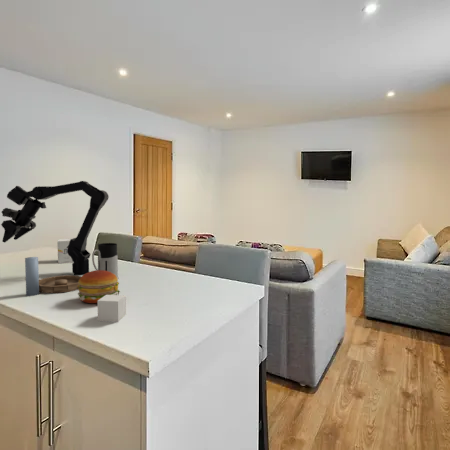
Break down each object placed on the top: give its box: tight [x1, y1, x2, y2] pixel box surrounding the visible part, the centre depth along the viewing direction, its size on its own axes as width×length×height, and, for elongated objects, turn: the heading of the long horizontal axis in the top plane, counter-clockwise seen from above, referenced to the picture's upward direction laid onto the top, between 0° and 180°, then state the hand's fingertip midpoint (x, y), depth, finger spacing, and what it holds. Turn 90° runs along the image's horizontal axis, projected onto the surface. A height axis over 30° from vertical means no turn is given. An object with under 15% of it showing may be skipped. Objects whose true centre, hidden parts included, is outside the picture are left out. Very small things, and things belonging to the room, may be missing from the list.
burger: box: [77, 269, 121, 304], centre depth 117 cm, size 14×14×10 cm
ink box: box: [57, 238, 74, 264], centre depth 183 cm, size 9×8×12 cm
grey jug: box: [91, 242, 120, 280], centre depth 142 cm, size 9×14×15 cm, turn 164°
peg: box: [24, 256, 40, 297], centre depth 122 cm, size 4×4×13 cm
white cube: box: [96, 294, 127, 323], centre depth 100 cm, size 6×6×6 cm
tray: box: [39, 274, 82, 294], centre depth 133 cm, size 17×17×2 cm
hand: (9, 240), depth 152 cm, fingers open, 9 cm apart
